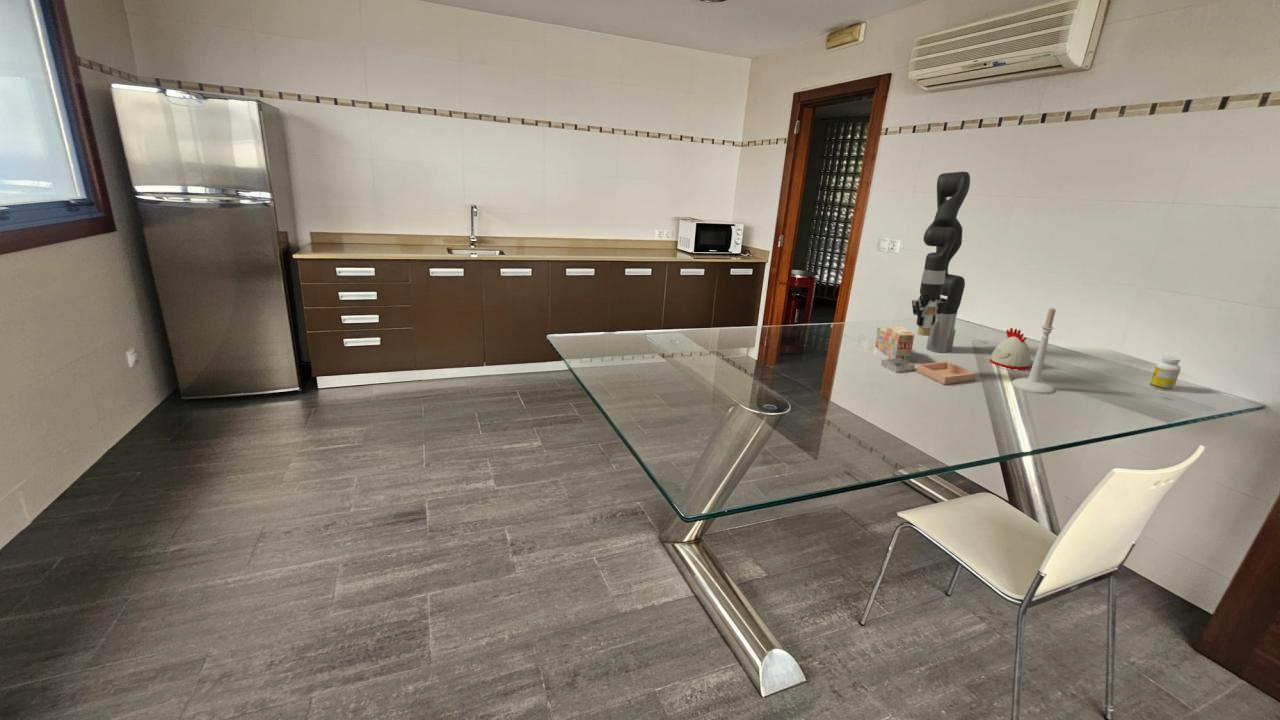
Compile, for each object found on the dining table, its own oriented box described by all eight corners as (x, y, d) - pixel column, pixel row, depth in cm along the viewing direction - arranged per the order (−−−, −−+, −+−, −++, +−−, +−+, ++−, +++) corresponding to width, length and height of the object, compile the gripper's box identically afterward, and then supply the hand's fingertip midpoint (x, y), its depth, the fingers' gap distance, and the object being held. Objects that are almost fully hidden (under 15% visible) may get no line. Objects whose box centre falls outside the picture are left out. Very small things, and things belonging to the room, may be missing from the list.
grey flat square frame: (898, 363, 221) (899, 357, 220) (913, 370, 213) (914, 364, 213) (880, 365, 219) (881, 359, 218) (895, 372, 211) (896, 366, 210)
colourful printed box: (874, 346, 242) (878, 320, 238) (888, 346, 242) (892, 320, 238) (894, 362, 222) (899, 334, 218) (909, 362, 222) (914, 334, 218)
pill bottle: (1159, 383, 198) (1169, 354, 194) (1178, 390, 192) (1189, 360, 188) (1144, 385, 197) (1154, 355, 193) (1163, 391, 191) (1173, 361, 187)
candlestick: (1063, 392, 191) (1085, 311, 181) (1031, 395, 189) (1052, 313, 179) (1033, 379, 203) (1052, 302, 193) (1003, 381, 201) (1021, 304, 191)
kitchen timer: (1006, 357, 227) (1014, 323, 222) (1038, 368, 214) (1047, 332, 209) (981, 361, 223) (989, 326, 218) (1012, 372, 210) (1021, 336, 205)
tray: (945, 368, 215) (946, 361, 214) (974, 380, 203) (976, 373, 202) (916, 372, 212) (917, 364, 211) (944, 384, 199) (945, 377, 198)
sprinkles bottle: (922, 332, 210) (928, 298, 206) (932, 335, 206) (938, 301, 202) (914, 333, 208) (919, 300, 204) (924, 336, 205) (930, 302, 200)
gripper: (941, 278, 205) (933, 321, 211) (909, 280, 202) (902, 324, 208) (956, 282, 198) (948, 326, 204) (923, 284, 195) (916, 329, 201)
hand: (925, 325), depth 206 cm, fingers closed on sprinkles bottle, 4 cm apart
